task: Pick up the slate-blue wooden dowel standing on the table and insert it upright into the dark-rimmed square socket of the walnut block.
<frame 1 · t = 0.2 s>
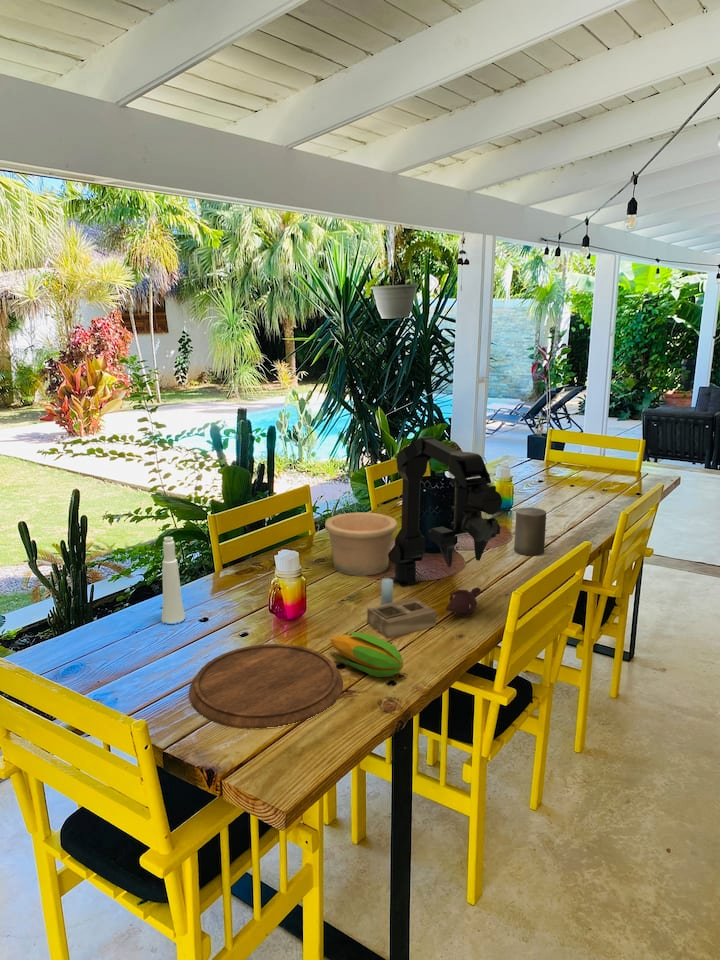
hand: (463, 563, 181), 14 cm above the table, tool pointing down, fingers open, 9 cm apart
corn: (363, 667, 158), on the table
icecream: (462, 615, 185), on the table
dowel: (386, 608, 189), on the table
cutting board: (267, 688, 150), on the table
socket block: (401, 624, 179), on the table
pillar candle: (528, 551, 234), on the table
cosmetic bottle: (173, 620, 181), on the table
pottery: (360, 567, 220), on the table
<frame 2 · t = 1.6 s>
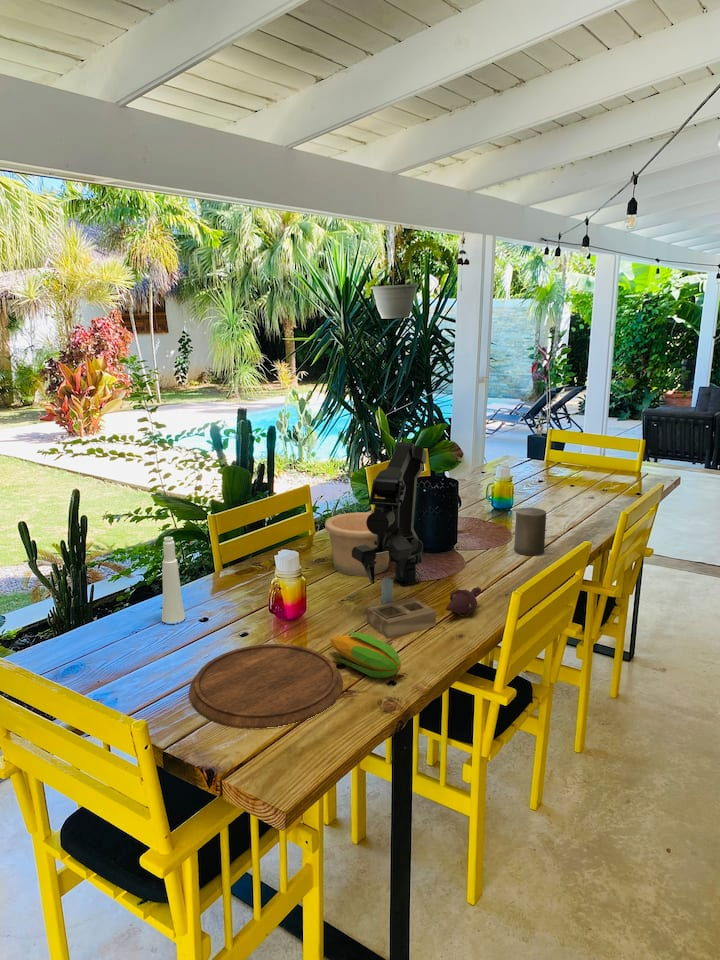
hand: (387, 580, 187), 8 cm above the table, tool pointing down, fingers open, 9 cm apart
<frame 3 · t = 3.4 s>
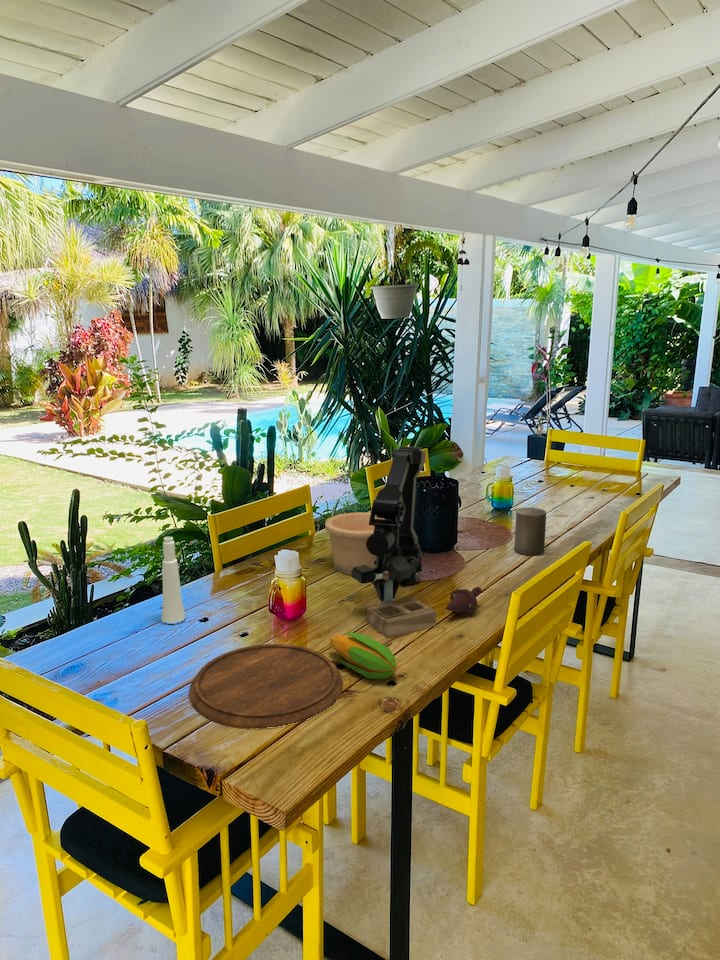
hand: (387, 599, 188), 3 cm above the table, tool pointing down, fingers closed on dowel, 3 cm apart
dowel: (386, 608, 189), on the table, touching gripper
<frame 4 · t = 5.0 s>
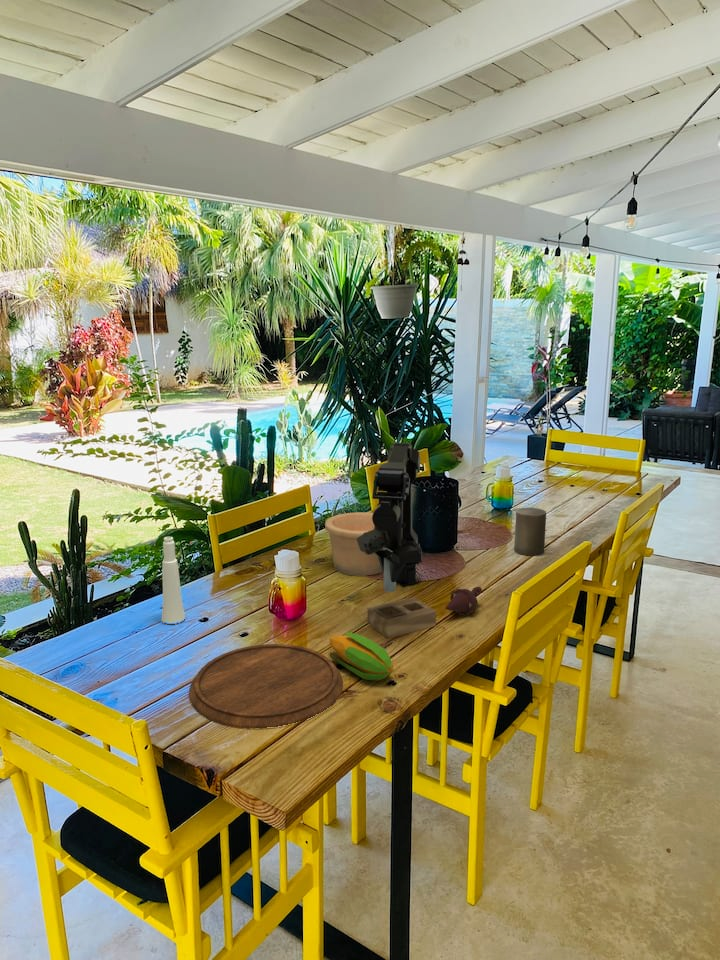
hand: (389, 579, 175), 13 cm above the table, tool pointing down, fingers closed on dowel, 3 cm apart
dowel: (389, 589, 175), point 10 cm above the table, touching gripper
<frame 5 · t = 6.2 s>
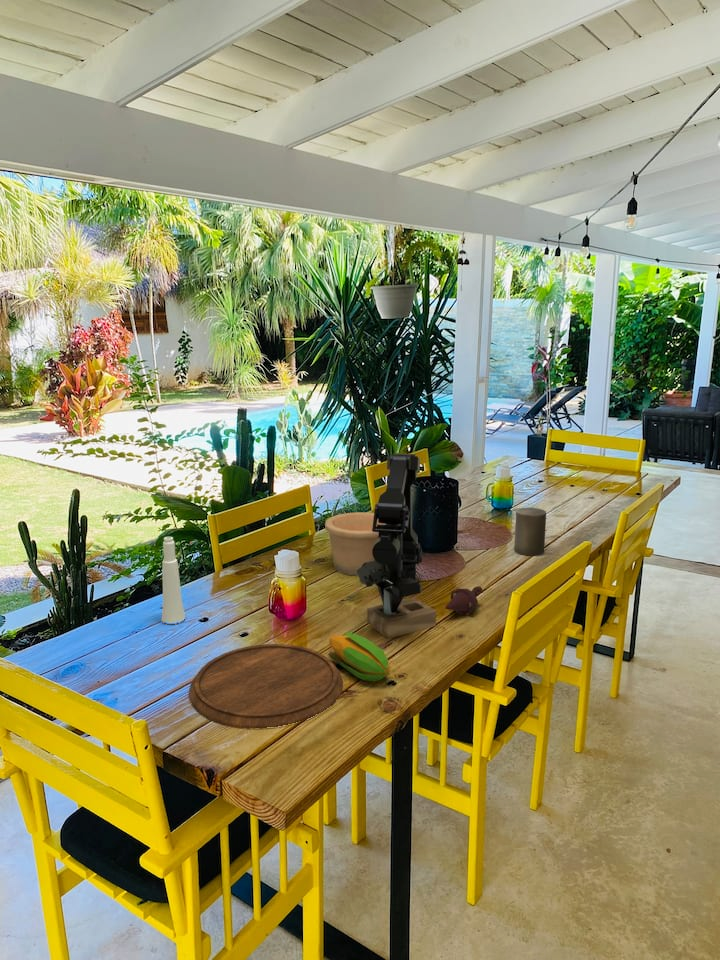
hand: (389, 610, 176), 5 cm above the table, tool pointing down, fingers closed on dowel, 3 cm apart
dowel: (389, 619, 177), point 2 cm above the table, touching gripper
when the fingers open (4 cm above the table, at t = 6.8 s): dowel drops 2 cm, resting in socket block.
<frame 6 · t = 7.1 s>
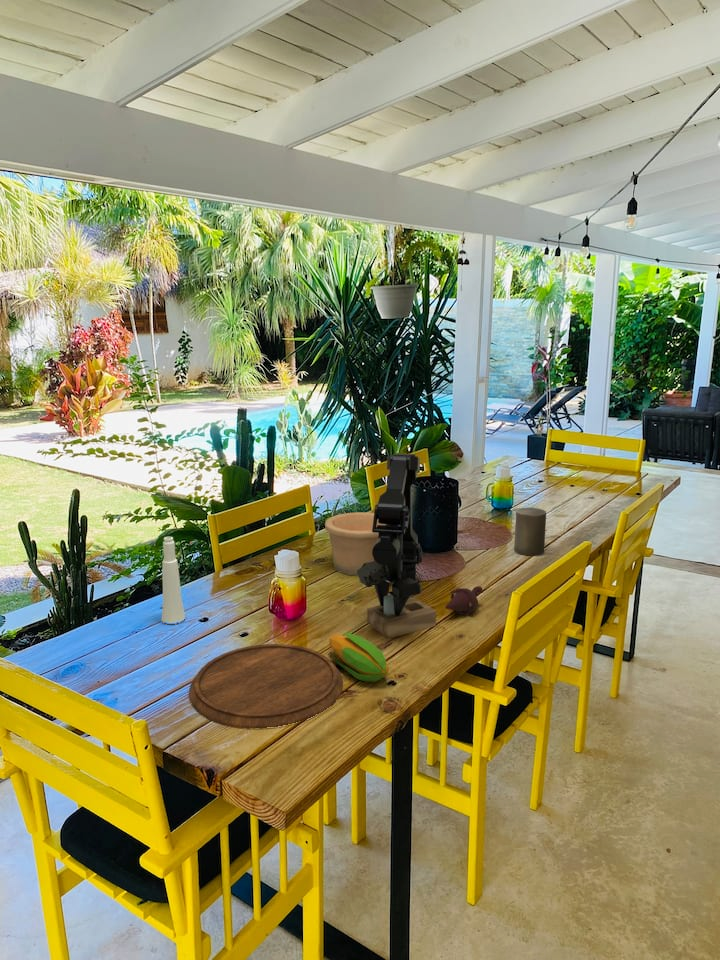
hand: (389, 610, 176), 4 cm above the table, tool pointing down, fingers open, 6 cm apart
dowel: (389, 627, 177), resting in socket block
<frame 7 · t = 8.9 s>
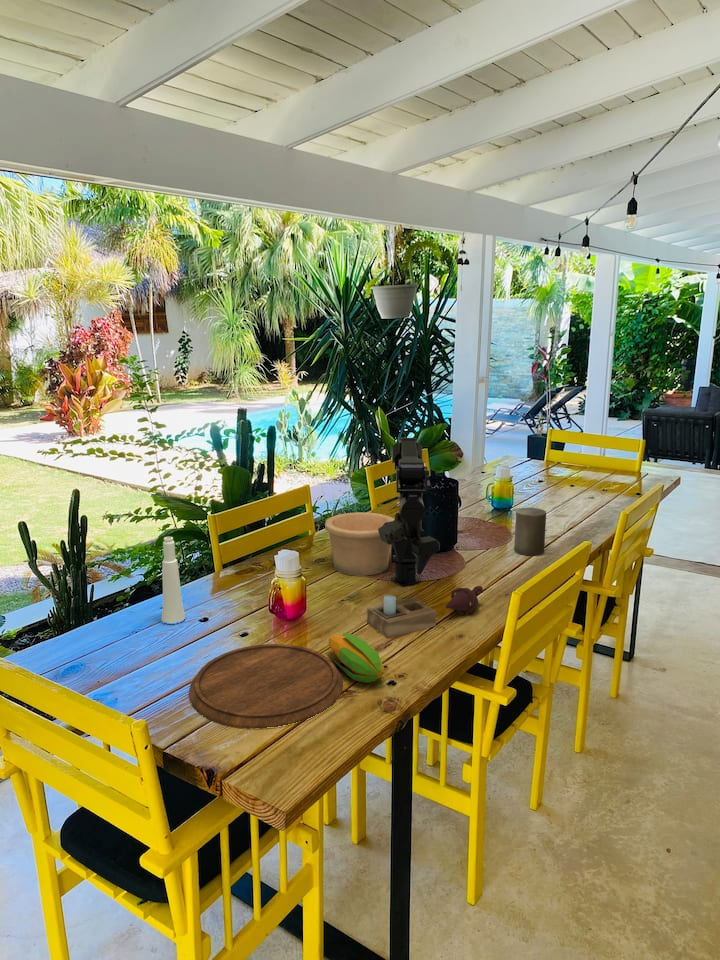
hand: (409, 567, 184), 12 cm above the table, tool pointing down, fingers open, 9 cm apart
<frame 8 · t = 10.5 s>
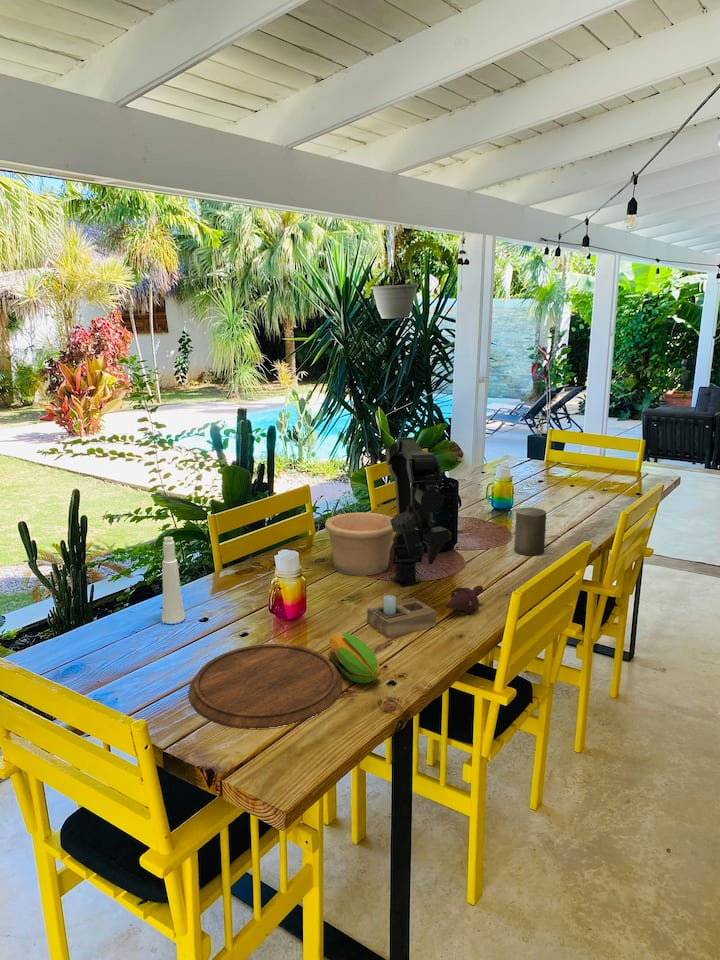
hand: (420, 558, 188), 13 cm above the table, tool pointing down, fingers open, 9 cm apart
at the end: dowel 0.0 cm from the target spot on the socket block, point 0.0 cm above the socket block's base; dowel tilted 0°; the gripper is holding nothing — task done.
